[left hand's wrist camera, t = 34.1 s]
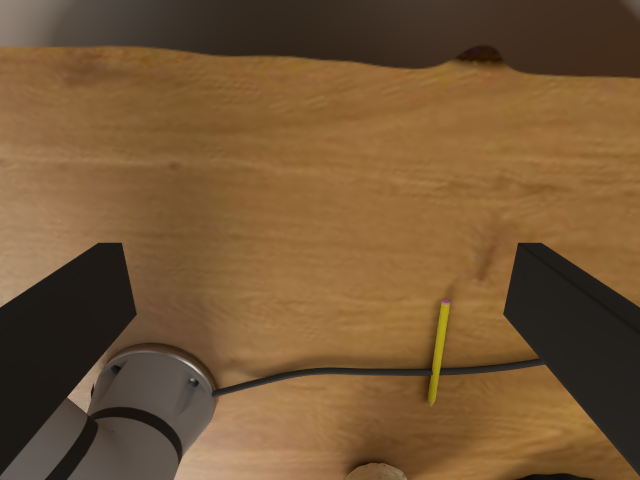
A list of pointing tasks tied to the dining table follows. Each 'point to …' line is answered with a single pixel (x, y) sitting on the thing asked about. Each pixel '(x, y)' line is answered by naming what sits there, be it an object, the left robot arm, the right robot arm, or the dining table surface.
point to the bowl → (376, 472)
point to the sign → (554, 477)
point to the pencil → (438, 350)
